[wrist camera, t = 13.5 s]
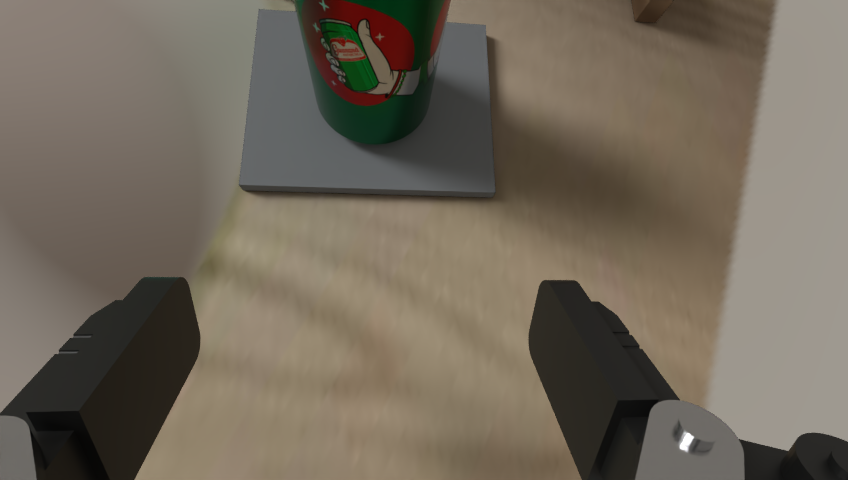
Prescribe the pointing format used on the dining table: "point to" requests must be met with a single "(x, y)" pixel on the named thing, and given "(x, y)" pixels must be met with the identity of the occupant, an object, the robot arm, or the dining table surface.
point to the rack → (649, 9)
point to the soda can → (372, 63)
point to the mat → (357, 162)
